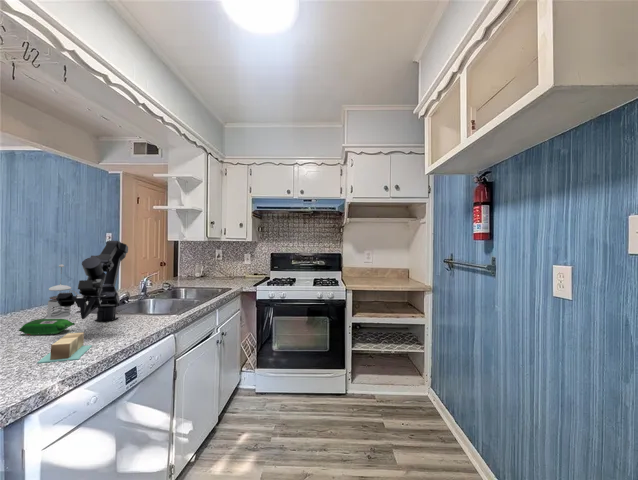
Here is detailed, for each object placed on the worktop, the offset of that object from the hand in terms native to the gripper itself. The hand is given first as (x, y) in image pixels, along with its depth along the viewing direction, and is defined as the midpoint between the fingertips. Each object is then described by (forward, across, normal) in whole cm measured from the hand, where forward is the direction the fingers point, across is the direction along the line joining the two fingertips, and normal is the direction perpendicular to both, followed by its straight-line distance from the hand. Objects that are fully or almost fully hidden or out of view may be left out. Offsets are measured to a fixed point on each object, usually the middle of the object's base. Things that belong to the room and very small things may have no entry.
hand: (82, 318), depth 105 cm
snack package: (-3, -15, +16) cm, 23 cm away
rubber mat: (+15, 0, -3) cm, 15 cm away
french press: (-20, -20, +34) cm, 45 cm away
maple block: (+8, 0, 0) cm, 8 cm away
